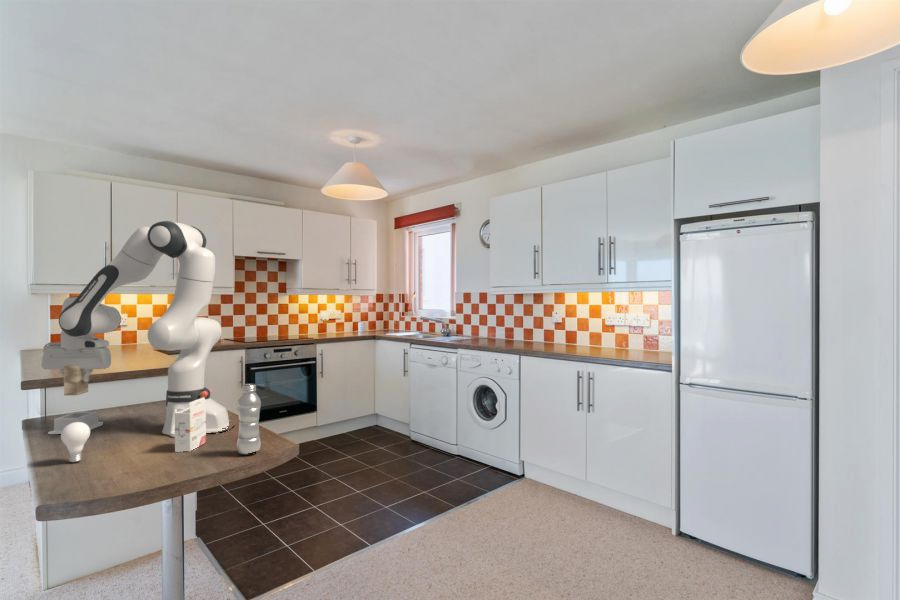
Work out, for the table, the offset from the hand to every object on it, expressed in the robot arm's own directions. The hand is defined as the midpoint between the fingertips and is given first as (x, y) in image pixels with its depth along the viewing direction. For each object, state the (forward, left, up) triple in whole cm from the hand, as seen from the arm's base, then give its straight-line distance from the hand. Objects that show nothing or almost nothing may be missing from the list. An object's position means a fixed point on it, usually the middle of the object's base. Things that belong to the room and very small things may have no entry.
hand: (76, 381), depth 159 cm
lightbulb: (-22, +37, -17) cm, 46 cm away
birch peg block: (0, 0, -4) cm, 4 cm away
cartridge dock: (0, 0, -17) cm, 17 cm away
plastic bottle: (-67, +36, -17) cm, 78 cm away
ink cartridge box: (-48, +28, -17) cm, 58 cm away
